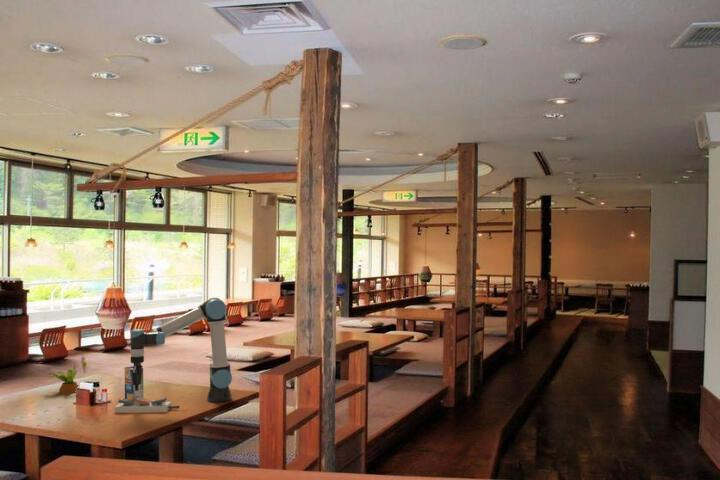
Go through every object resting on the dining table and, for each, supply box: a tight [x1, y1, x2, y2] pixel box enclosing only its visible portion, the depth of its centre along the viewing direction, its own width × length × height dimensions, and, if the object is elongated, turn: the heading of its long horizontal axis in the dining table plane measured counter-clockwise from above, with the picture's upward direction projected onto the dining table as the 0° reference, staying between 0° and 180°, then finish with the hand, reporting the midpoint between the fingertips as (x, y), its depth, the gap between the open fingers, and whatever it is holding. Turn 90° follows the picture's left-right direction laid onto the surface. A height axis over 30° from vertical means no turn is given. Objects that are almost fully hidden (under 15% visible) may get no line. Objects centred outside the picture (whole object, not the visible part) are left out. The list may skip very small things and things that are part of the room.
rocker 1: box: [118, 397, 135, 405], centre depth 397 cm, size 8×4×2 cm, turn 91°
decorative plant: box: [48, 355, 88, 395], centre depth 452 cm, size 27×24×25 cm
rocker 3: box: [151, 397, 167, 405], centre depth 397 cm, size 8×4×2 cm, turn 91°
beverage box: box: [124, 365, 144, 401], centre depth 416 cm, size 7×11×22 cm, turn 45°
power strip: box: [114, 401, 180, 414], centre depth 399 cm, size 36×11×4 cm, turn 91°
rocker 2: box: [135, 398, 152, 405], centre depth 397 cm, size 8×4×2 cm, turn 91°
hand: (137, 395), depth 397 cm, fingers closed
